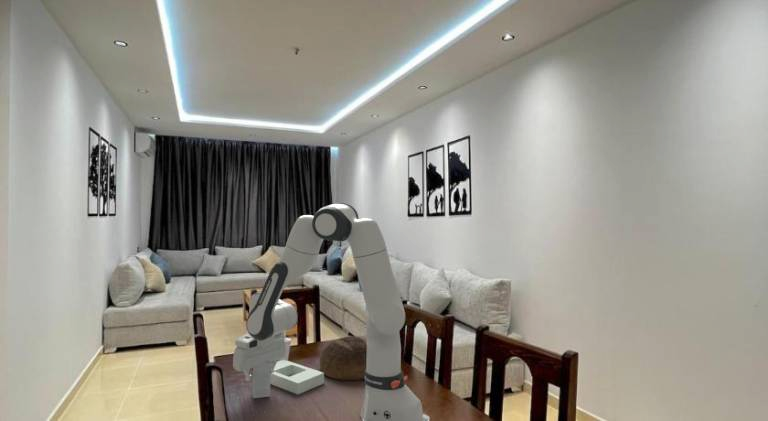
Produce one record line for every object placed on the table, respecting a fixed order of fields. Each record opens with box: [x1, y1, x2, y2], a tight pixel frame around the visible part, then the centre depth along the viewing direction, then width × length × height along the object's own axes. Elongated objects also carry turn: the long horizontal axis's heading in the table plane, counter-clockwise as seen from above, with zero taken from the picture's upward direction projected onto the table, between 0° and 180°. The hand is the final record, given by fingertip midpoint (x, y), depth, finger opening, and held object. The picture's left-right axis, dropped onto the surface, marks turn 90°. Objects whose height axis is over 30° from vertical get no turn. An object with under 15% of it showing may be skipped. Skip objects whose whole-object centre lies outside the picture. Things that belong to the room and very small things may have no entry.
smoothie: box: [278, 331, 292, 361], centre depth 188 cm, size 6×6×14 cm
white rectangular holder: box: [270, 359, 325, 395], centre depth 167 cm, size 23×13×4 cm, turn 53°
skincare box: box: [251, 361, 271, 399], centre depth 154 cm, size 6×4×12 cm
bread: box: [319, 335, 367, 381], centre depth 180 cm, size 26×27×13 cm
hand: (260, 376), depth 154 cm, fingers open, 8 cm apart
